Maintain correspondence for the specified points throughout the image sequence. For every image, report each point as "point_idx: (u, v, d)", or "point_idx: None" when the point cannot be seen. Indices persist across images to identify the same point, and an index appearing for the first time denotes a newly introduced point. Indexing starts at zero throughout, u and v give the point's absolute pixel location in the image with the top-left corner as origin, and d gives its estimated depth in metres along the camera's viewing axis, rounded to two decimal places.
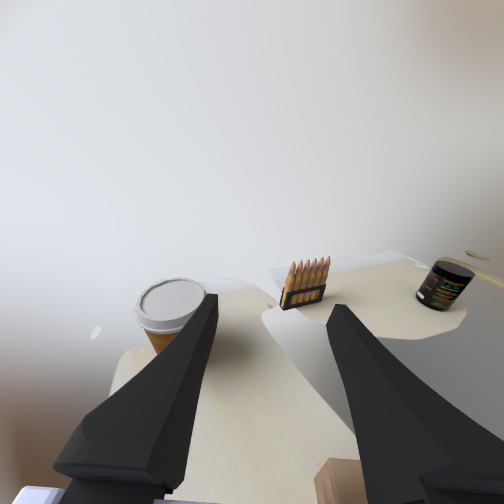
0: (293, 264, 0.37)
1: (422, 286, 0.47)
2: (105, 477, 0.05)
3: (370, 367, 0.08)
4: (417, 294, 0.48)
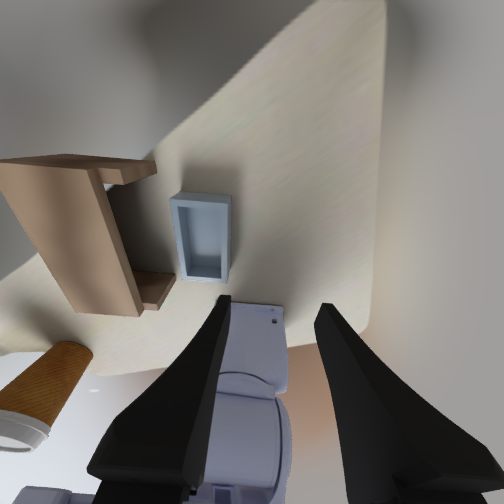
0: None
1: None
2: (135, 479, 0.05)
3: (351, 366, 0.08)
4: None
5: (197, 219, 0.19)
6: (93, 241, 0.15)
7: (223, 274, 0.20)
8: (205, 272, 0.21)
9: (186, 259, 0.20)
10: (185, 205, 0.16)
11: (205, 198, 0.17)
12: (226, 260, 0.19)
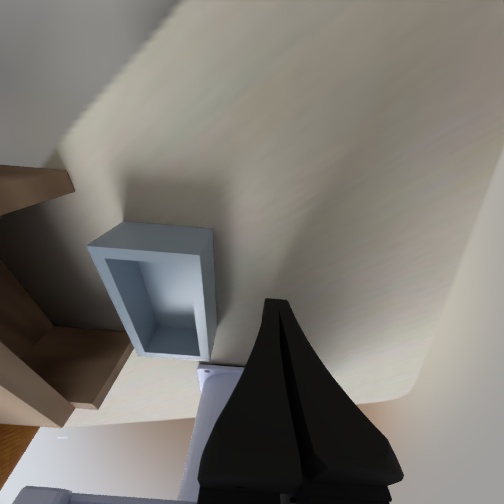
0: None
1: None
2: (239, 487, 0.05)
3: (288, 360, 0.08)
4: None
5: (156, 267, 0.11)
6: None
7: (202, 351, 0.12)
8: (176, 341, 0.14)
9: (143, 328, 0.12)
10: (119, 257, 0.09)
11: (161, 239, 0.09)
12: (206, 334, 0.12)
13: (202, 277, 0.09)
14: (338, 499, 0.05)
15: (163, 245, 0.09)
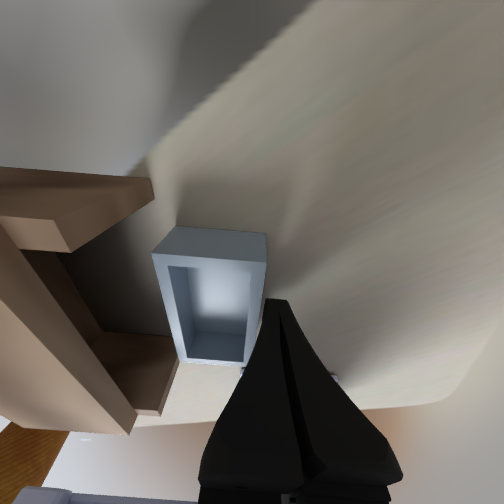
0: None
1: None
2: (240, 487, 0.05)
3: (288, 360, 0.08)
4: None
5: (204, 272, 0.11)
6: (20, 359, 0.07)
7: (247, 357, 0.12)
8: (216, 346, 0.13)
9: (187, 333, 0.12)
10: (183, 264, 0.08)
11: (221, 245, 0.09)
12: (254, 341, 0.11)
13: (263, 284, 0.09)
14: (337, 499, 0.05)
15: (226, 252, 0.09)
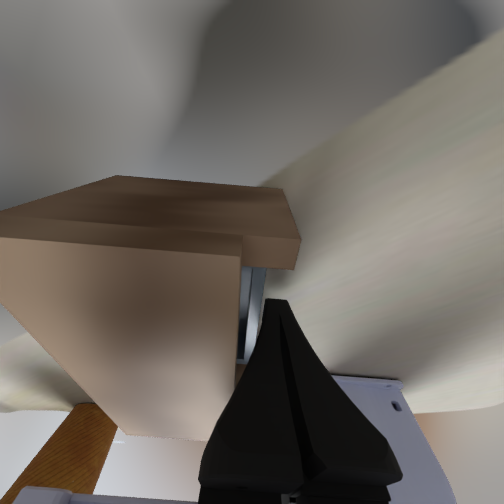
0: None
1: None
2: (240, 487, 0.05)
3: (288, 361, 0.08)
4: None
5: None
6: (194, 372, 0.07)
7: (247, 354, 0.12)
8: None
9: None
10: None
11: None
12: (254, 338, 0.12)
13: None
14: (338, 499, 0.05)
15: None
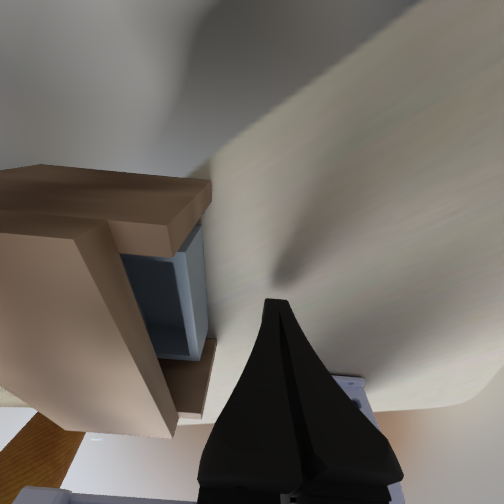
0: None
1: None
2: (239, 487, 0.05)
3: (288, 360, 0.08)
4: None
5: (144, 264, 0.11)
6: (96, 364, 0.07)
7: (192, 351, 0.12)
8: (166, 340, 0.13)
9: None
10: None
11: None
12: (195, 334, 0.11)
13: (189, 275, 0.09)
14: (338, 499, 0.05)
15: None
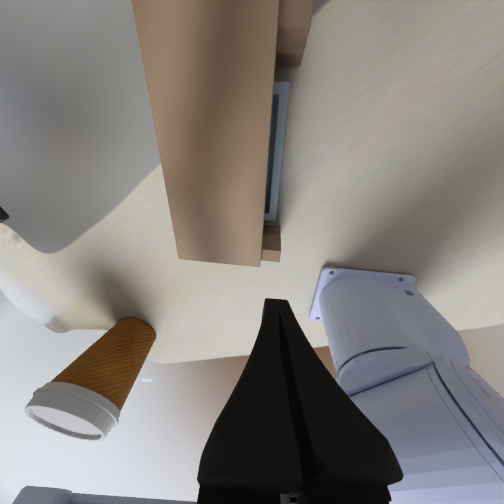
0: None
1: None
2: (239, 487, 0.05)
3: (288, 361, 0.08)
4: None
5: None
6: (242, 132, 0.10)
7: (272, 206, 0.15)
8: None
9: None
10: None
11: None
12: (278, 183, 0.15)
13: None
14: (338, 499, 0.05)
15: None
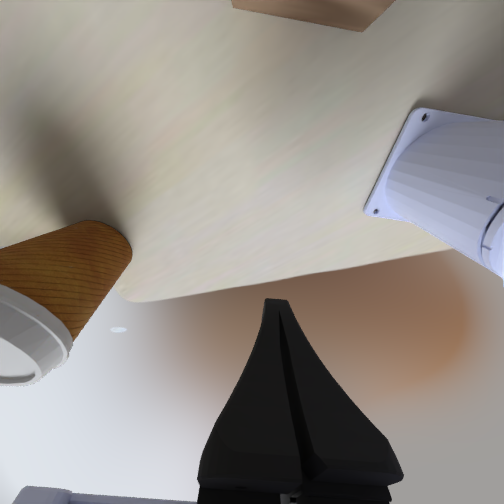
0: None
1: None
2: (239, 487, 0.05)
3: (288, 361, 0.08)
4: None
5: None
6: None
7: None
8: None
9: None
10: None
11: None
12: None
13: None
14: (338, 499, 0.05)
15: None
